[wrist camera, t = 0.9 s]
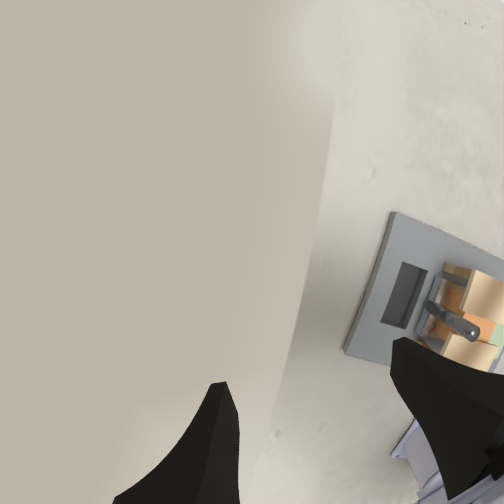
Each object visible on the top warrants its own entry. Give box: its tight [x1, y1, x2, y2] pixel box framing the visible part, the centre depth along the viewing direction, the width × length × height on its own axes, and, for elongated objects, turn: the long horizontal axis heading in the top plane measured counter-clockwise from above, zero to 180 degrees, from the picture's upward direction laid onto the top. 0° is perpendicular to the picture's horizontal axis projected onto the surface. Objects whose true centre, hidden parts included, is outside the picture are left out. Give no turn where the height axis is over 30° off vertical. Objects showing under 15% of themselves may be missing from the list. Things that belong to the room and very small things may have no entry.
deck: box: [343, 212, 504, 373], centre depth 24 cm, size 20×14×2 cm
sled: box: [415, 276, 480, 342], centre depth 19 cm, size 8×6×9 cm
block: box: [433, 288, 496, 343], centre depth 21 cm, size 4×4×4 cm
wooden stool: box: [415, 262, 504, 372], centre depth 21 cm, size 6×9×6 cm
